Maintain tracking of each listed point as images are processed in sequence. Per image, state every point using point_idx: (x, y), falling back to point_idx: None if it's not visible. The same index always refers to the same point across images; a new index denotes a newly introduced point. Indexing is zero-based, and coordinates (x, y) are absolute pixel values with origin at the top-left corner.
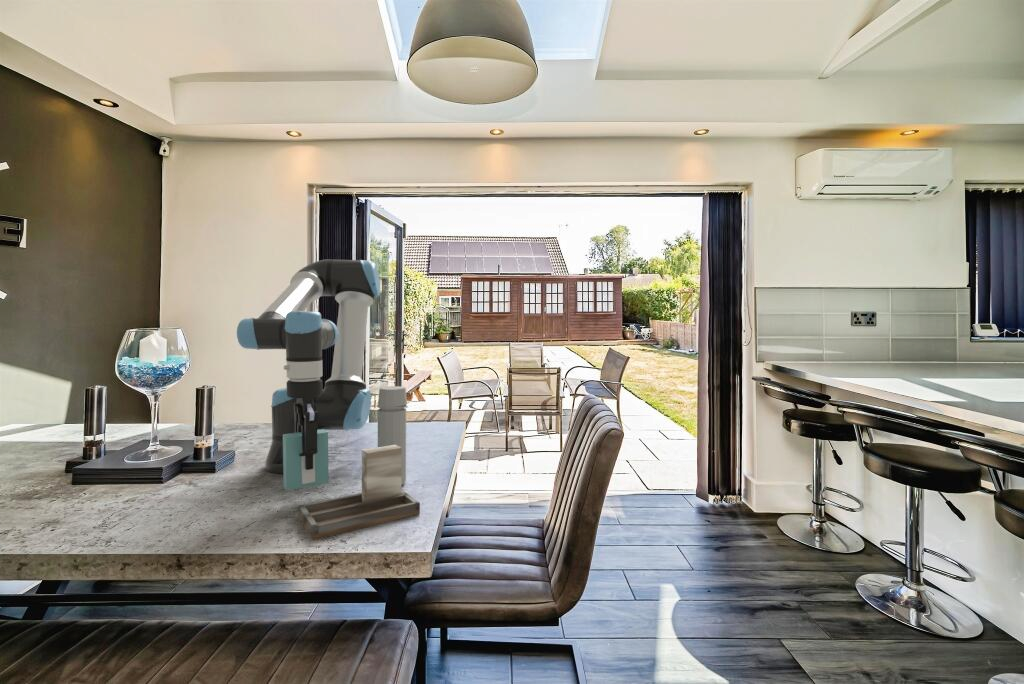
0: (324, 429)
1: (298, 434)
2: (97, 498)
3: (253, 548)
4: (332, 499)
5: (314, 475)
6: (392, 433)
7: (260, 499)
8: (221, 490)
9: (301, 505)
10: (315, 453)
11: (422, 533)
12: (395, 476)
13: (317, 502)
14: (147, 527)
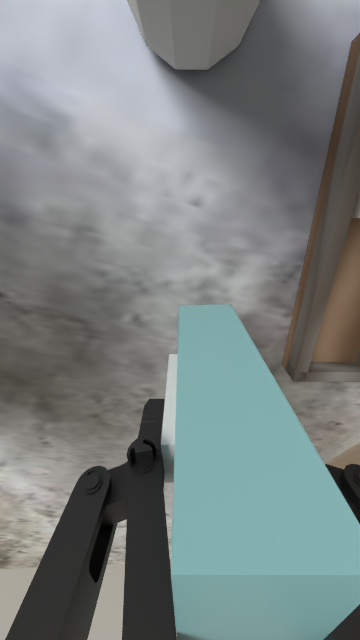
0: (199, 575)
1: None
2: (26, 531)
3: (356, 432)
4: (317, 308)
5: None
6: None
7: (128, 400)
8: (42, 440)
9: (297, 376)
10: (357, 470)
11: None
12: None
13: (307, 344)
14: (172, 504)
